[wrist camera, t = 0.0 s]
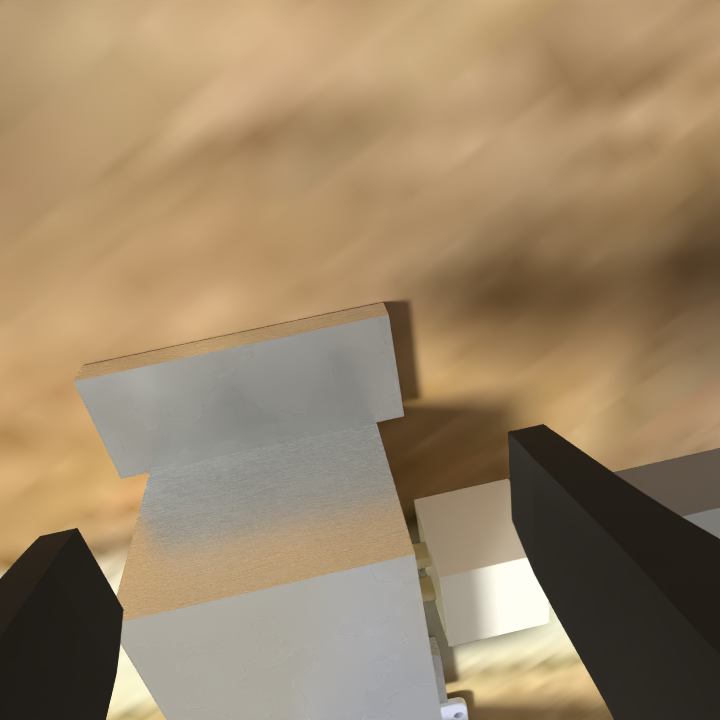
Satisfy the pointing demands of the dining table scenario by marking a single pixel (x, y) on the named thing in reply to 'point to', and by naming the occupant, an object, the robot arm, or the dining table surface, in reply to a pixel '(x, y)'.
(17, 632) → the robot arm
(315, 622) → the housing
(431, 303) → the dining table surface
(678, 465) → the plug
